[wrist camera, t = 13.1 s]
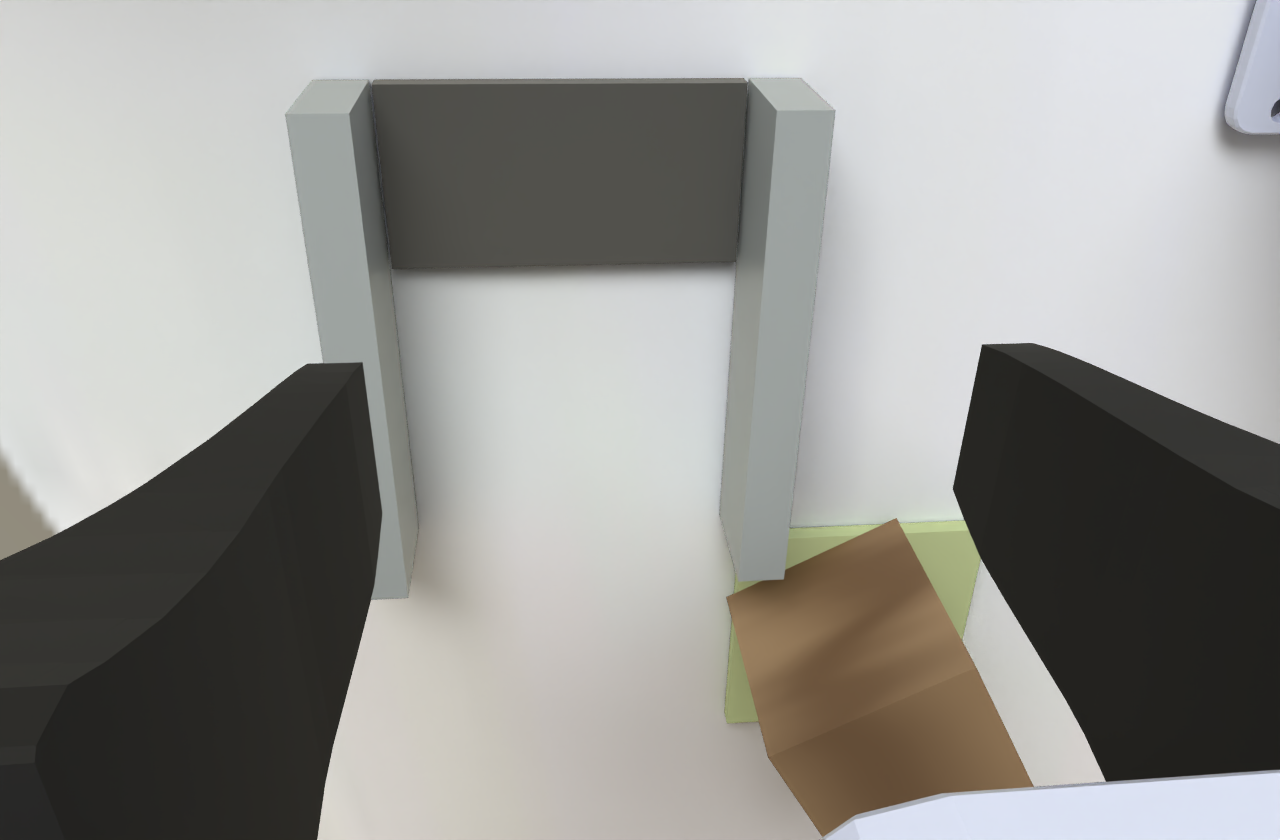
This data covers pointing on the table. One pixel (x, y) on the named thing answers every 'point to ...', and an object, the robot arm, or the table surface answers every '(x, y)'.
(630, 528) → the table surface
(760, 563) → the goalpost shaped bracket
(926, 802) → the robot arm
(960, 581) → the coaster
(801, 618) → the block
